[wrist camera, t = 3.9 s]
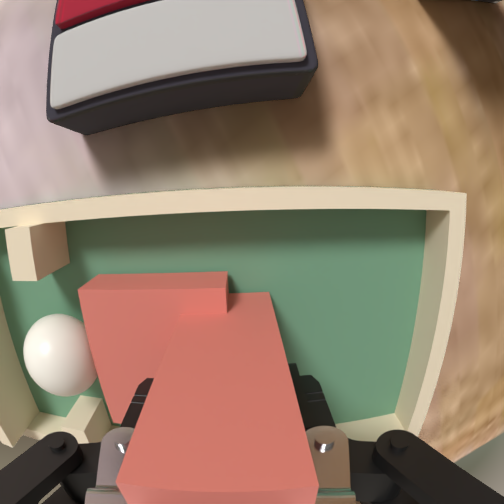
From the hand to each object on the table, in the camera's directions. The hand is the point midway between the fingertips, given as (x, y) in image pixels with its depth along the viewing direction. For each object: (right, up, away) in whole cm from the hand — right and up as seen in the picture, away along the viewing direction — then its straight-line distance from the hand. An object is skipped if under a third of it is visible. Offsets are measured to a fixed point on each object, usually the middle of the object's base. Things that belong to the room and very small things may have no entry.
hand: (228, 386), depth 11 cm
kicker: (-2, +1, +3) cm, 4 cm away
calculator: (-3, +19, +1) cm, 19 cm away
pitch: (-2, +1, +5) cm, 5 cm away
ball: (-8, 0, +1) cm, 8 cm away
